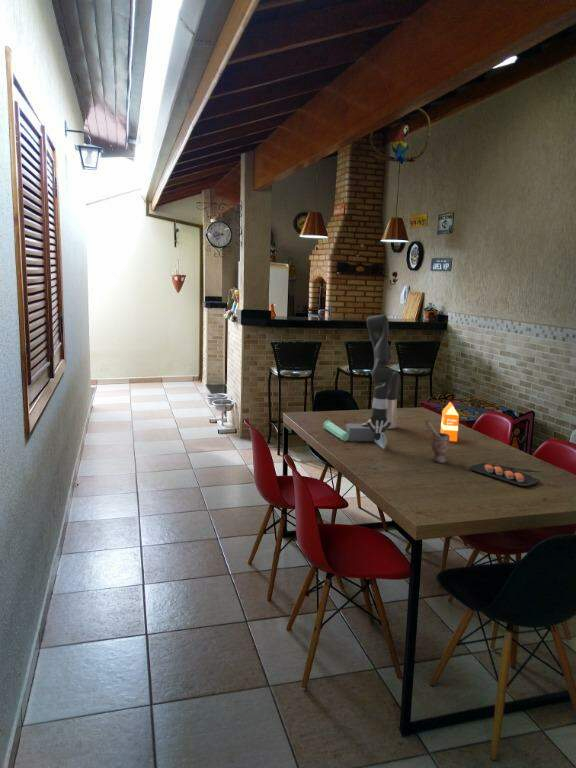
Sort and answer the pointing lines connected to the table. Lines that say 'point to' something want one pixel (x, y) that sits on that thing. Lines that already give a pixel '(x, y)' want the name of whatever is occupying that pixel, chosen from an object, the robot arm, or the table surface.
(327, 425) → the mint green bar
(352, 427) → the camera case
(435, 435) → the mortar and pestle
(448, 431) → the orange juice
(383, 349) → the robot arm
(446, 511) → the table surface
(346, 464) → the table surface
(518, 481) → the sushi plate
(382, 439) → the side door
